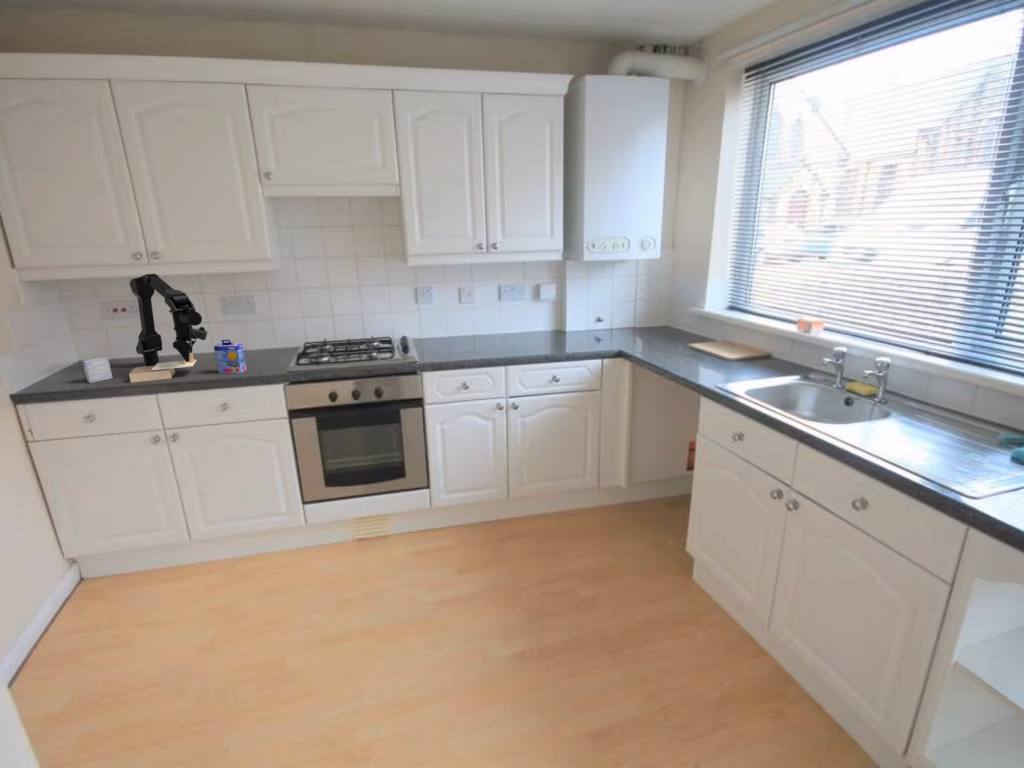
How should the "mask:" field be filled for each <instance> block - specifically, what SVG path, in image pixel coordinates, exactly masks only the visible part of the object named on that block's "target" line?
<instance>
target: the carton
mask: <svg viewBox="0 0 1024 768" xmlns="http://www.w3.org/2000/svg"><path fill="white" fill-rule="evenodd" d="M153 367H154V366H145V367H143V366H136V367H134V368H133V369H132V370H131V371H130V372H129V374H128V376H129V379H130V380H129V381H130V384H131V383H140V382H149V381H150V382H151V381H152V382H153V381H162V380H170V379H172V377H173V376H174V375H175V374H176V370H175V369H176V368H172V369H161V370H152V368H153Z"/></svg>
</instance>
